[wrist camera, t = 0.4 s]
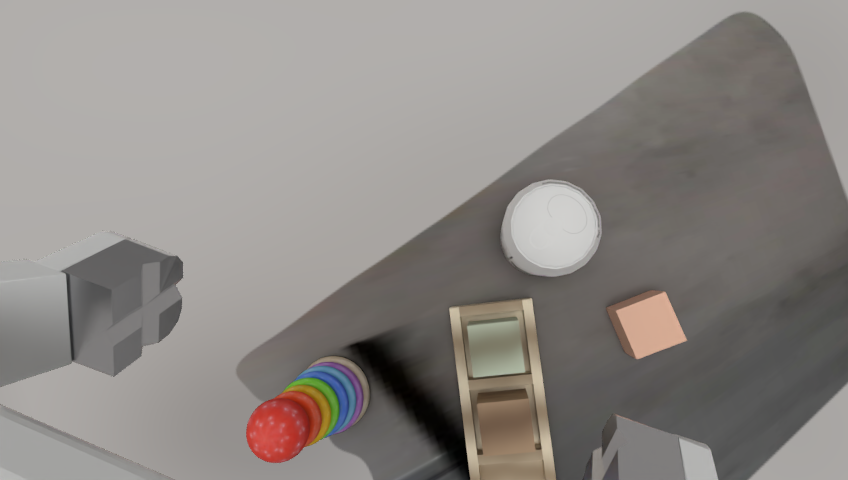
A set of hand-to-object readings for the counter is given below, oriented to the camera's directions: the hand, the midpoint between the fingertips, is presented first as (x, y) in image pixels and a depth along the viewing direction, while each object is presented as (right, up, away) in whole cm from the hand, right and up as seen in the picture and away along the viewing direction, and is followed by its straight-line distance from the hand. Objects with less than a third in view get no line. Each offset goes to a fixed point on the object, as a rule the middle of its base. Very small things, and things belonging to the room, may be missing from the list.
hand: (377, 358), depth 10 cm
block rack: (+9, -16, +51) cm, 54 cm away
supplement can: (+13, +2, +52) cm, 54 cm away
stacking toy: (-9, -15, +53) cm, 56 cm away
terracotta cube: (+23, -6, +50) cm, 56 cm away
